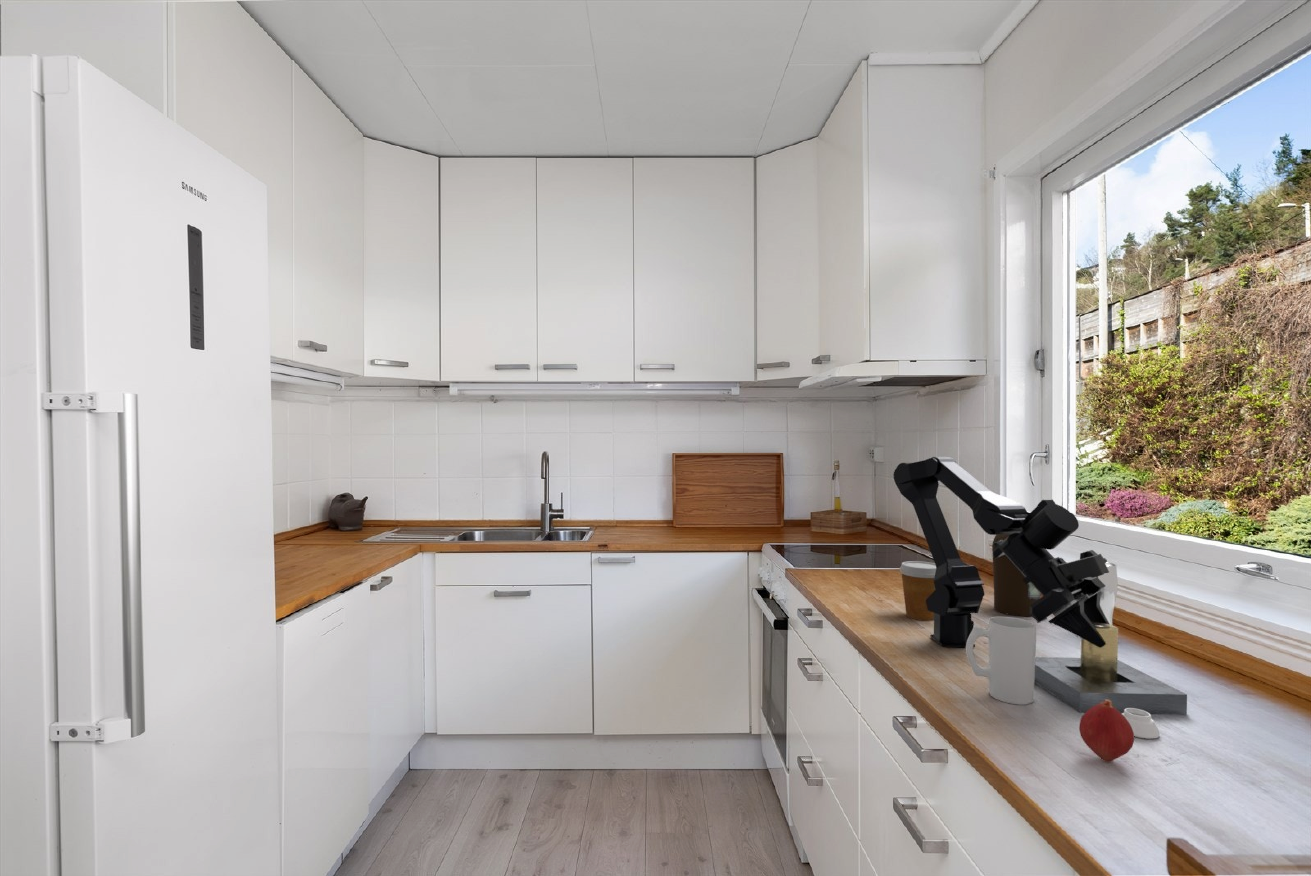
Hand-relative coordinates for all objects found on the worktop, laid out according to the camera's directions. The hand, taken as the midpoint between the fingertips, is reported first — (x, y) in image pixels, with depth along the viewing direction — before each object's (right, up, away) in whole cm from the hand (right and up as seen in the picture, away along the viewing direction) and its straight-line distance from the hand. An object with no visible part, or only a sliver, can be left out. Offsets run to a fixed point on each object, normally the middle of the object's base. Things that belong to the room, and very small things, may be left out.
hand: (1108, 642), depth 106 cm
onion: (-15, -9, -22) cm, 28 cm away
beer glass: (+21, -9, +34) cm, 41 cm away
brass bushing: (-1, -7, +1) cm, 7 cm away
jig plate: (-1, -8, +1) cm, 9 cm away
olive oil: (+13, -9, +51) cm, 53 cm away
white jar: (-5, -9, -13) cm, 17 cm away
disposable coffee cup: (-12, -8, +45) cm, 48 cm away
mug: (-18, -9, -1) cm, 20 cm away
